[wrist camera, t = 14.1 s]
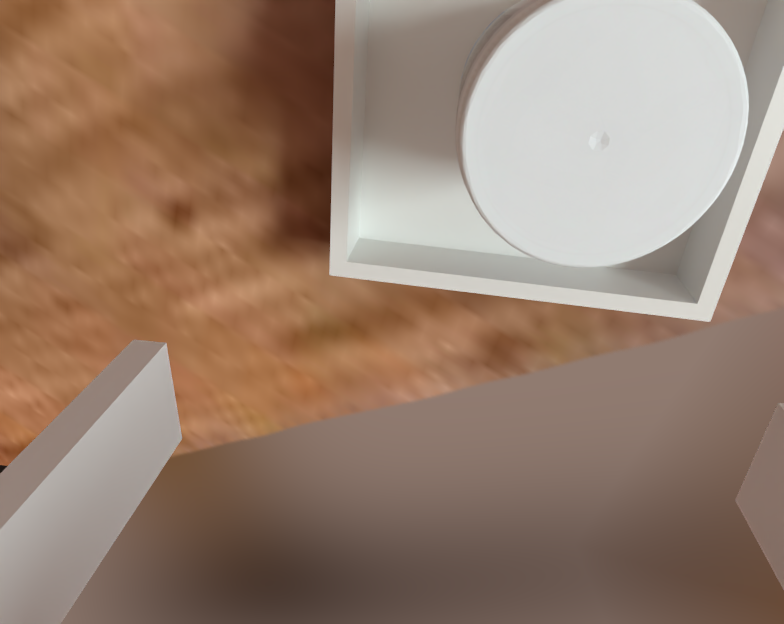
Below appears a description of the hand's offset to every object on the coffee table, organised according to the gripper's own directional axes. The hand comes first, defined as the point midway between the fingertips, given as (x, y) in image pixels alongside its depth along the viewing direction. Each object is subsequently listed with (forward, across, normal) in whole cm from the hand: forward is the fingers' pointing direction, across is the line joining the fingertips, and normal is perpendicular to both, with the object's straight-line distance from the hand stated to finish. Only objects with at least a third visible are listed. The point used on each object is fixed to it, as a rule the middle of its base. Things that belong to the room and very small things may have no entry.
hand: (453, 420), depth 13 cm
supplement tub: (+25, +4, +4) cm, 25 cm away
